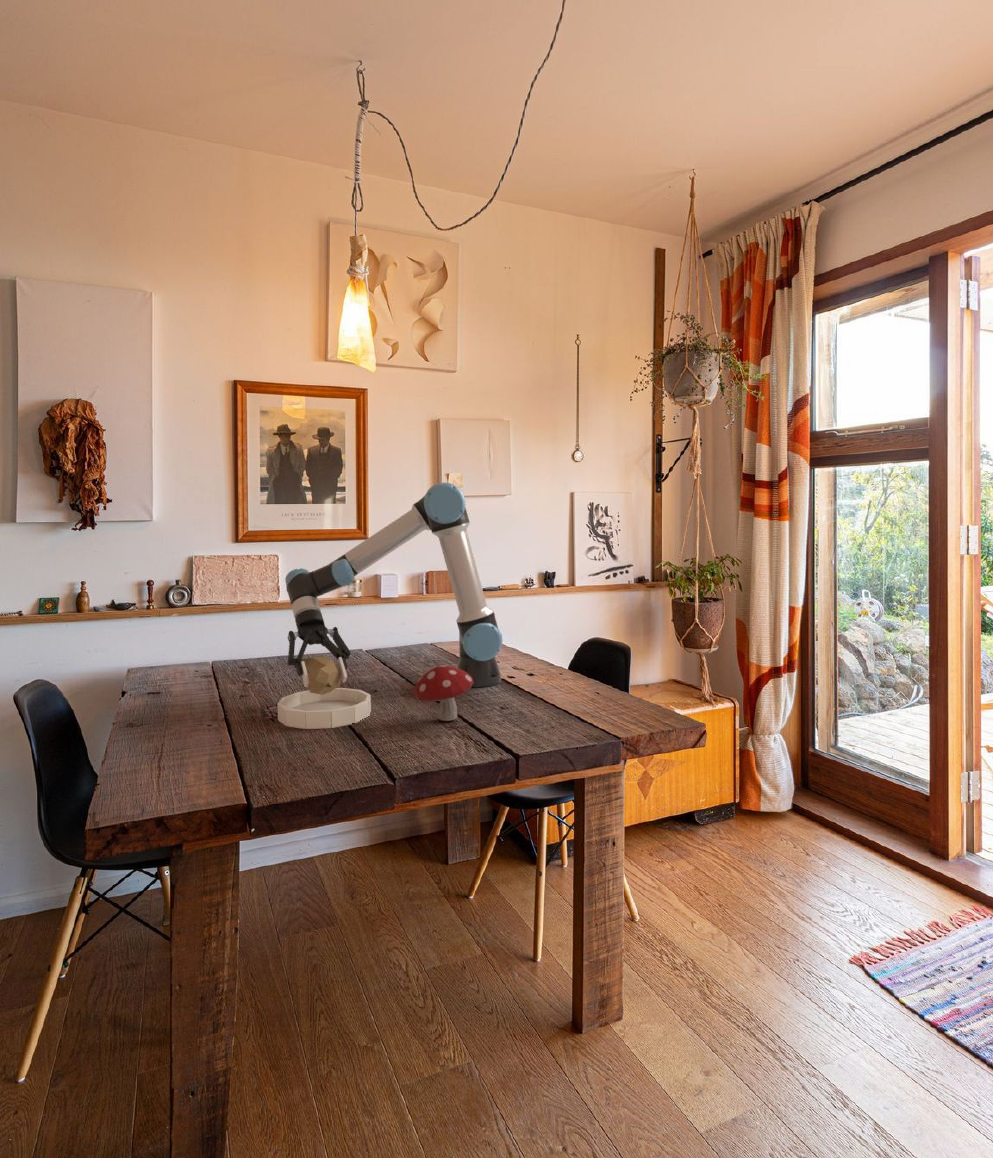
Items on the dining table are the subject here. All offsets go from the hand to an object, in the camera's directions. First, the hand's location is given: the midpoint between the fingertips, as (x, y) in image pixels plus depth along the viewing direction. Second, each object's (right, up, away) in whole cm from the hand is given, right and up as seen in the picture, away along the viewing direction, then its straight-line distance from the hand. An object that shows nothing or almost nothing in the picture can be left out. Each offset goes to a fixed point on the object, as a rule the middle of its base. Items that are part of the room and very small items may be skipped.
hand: (326, 681), depth 185 cm
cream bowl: (-1, -10, +4) cm, 10 cm away
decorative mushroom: (+32, -10, -3) cm, 33 cm away
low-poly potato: (-2, -4, +3) cm, 5 cm away
